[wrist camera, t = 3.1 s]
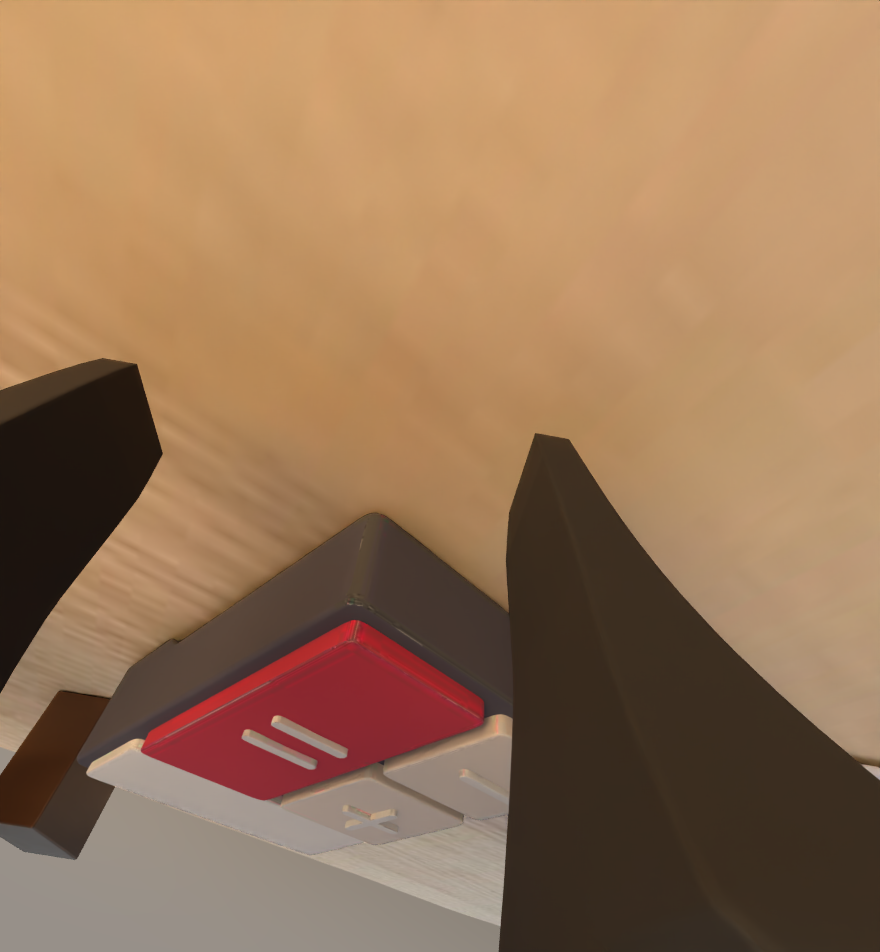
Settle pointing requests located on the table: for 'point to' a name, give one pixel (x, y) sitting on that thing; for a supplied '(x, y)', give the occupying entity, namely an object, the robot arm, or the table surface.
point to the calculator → (326, 703)
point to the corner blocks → (54, 781)
